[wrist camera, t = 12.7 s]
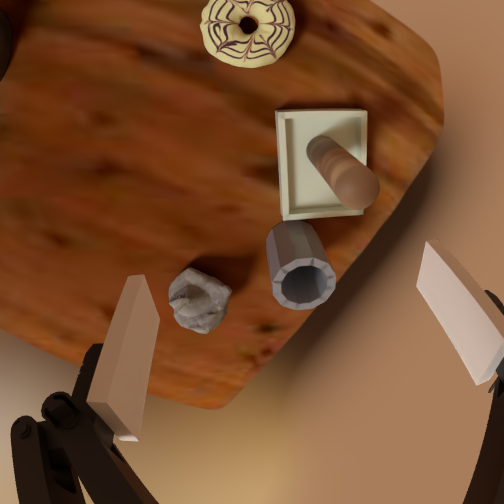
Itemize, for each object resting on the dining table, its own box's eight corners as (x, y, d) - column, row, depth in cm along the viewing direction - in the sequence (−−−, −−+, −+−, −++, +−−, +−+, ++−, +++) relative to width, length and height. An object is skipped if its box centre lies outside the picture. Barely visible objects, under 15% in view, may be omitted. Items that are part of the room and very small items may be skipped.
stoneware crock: (264, 221, 45) (271, 261, 36) (318, 217, 45) (337, 255, 36) (267, 267, 49) (273, 312, 40) (317, 263, 49) (333, 306, 40)
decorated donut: (199, 65, 34) (195, 64, 31) (208, -14, 28) (205, -22, 25) (285, 72, 35) (290, 72, 32) (295, -6, 29) (300, -13, 26)
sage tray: (275, 110, 37) (277, 112, 35) (360, 108, 37) (367, 111, 35) (280, 212, 44) (283, 220, 42) (357, 207, 44) (363, 214, 42)
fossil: (198, 244, 46) (191, 277, 40) (247, 276, 50) (249, 311, 43) (160, 292, 51) (150, 327, 44) (206, 319, 54) (203, 354, 47)
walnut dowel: (305, 135, 38) (337, 151, 25) (335, 134, 38) (380, 150, 25) (307, 177, 41) (338, 212, 28) (337, 175, 41) (379, 210, 28)
